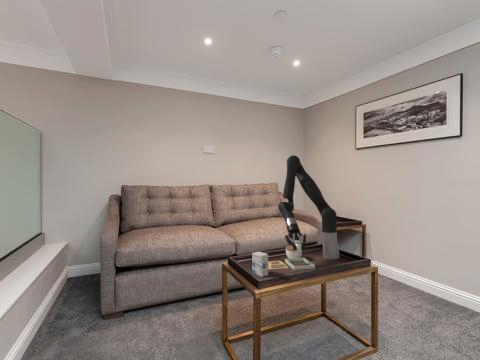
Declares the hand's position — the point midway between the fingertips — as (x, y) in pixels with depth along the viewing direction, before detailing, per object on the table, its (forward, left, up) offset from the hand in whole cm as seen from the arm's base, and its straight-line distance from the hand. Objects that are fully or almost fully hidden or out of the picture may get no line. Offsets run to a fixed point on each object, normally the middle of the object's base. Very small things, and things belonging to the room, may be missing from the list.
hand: (299, 249), depth 148 cm
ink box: (+26, +8, -11) cm, 29 cm away
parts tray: (0, -2, -10) cm, 10 cm away
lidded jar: (-2, -17, -11) cm, 20 cm away
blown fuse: (0, -2, -4) cm, 4 cm away
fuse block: (+14, -4, -10) cm, 18 cm away
